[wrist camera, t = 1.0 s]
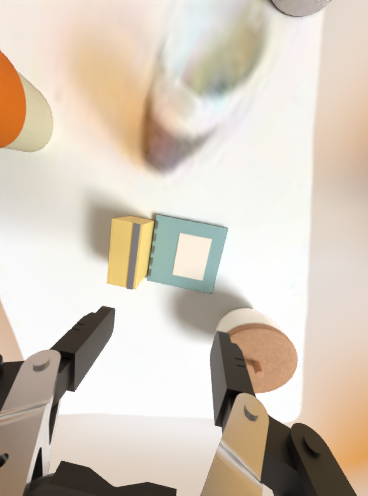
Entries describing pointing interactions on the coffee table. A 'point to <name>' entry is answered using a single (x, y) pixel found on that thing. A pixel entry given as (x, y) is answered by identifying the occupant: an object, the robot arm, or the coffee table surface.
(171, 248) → the spiral notebook
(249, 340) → the lidded jar
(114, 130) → the coffee table surface
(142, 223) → the yellow box with stripe
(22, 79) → the reusable coffee cup
